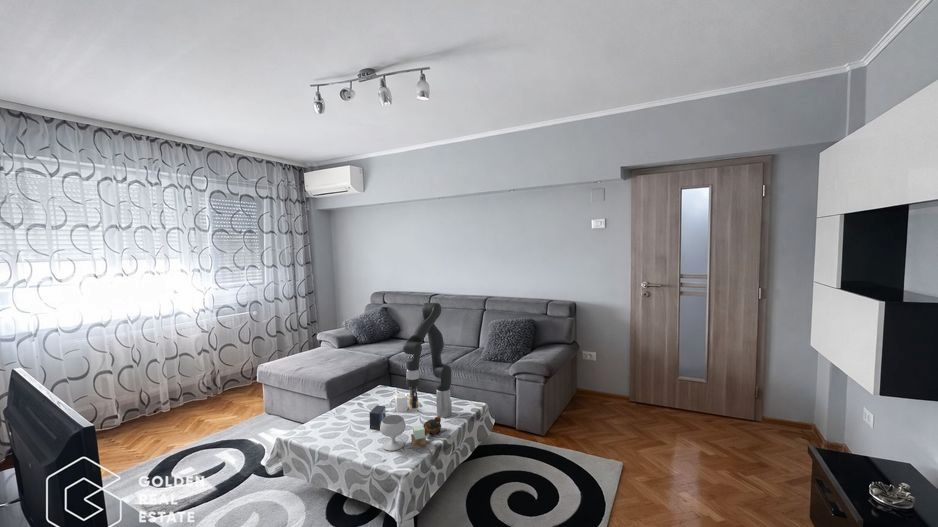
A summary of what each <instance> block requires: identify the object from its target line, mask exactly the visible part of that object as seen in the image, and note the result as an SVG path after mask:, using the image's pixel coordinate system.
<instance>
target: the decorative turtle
mask: <svg viewBox="0 0 938 527" xmlns="http://www.w3.org/2000/svg"><path fill="white" fill-rule="evenodd" d="M441 418H442V417H440V416H437V415H436V416H435V417H434V419H432V418H431V419H429V420H427V421H425V422H424V423H423V424H422V425H423V427H424V429H425V437H426V436H427V435H429V434H430V433H431V435H433V436H436V434H437V433H440V431H441V428H442V424H441V421H442V420H441Z"/></svg>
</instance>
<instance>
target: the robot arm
mask: <svg viewBox="0 0 938 527" xmlns="http://www.w3.org/2000/svg"><path fill="white" fill-rule="evenodd" d="M421 312H422V317H423V321H422V322H420V324H418V325H417V326H416V328H415V329H414V332H413V334H412V335H411V336H410V337H409V338H407V340H406V341H405V342H404V344H403V345H402V346H403V347H402V351H403V352H404V354H406V355H413V356H412V357H409V358H408V359H407V360H406V373H405V375H406V380H405V381H406V382H405V384H406V386H407V387H409V388H408V389H409V396H411V398H412V408H416V402H417V396H418V388H417V387H419V386H420V384H421V378H420V377H421V375H420V374H421V372H420V358H421V355H422V350H423V346H422V342H424V340H425V338H426V336H427V338H428V339H427V340H428V346H429V348H430V356H431V364H432V373H433V376H434V377H436V378H438V379H440V382H438V383H436V386H435V395H436V397H435V399H436V404H435V405H436V417H437V416H440V418H447V417H450V416H452V415H453V412H452V411H453V410H452V407H453V406H452V399H451V384H452V368H451V366H450V365H448V364H444V363H443V361H442V352H443V350H444V346H445V342H444V337H443V334H442V331H441V330H440V329H439V327H437V325H436V324H435V322H436V321H437V320H438V319H439V317H440V316H441V314H442V306H441V304H440V303H438V302H424V303H423V304H422V307H421ZM414 399H415V400H414Z"/></svg>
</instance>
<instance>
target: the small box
mask: <svg viewBox="0 0 938 527" xmlns="http://www.w3.org/2000/svg"><path fill="white" fill-rule="evenodd" d="M385 417H387V414H386V406H385V405H375V406H374V407H373V409H371V411H369V430H380V425H381V422H382V420H383V418H385Z"/></svg>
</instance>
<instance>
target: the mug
mask: <svg viewBox="0 0 938 527" xmlns="http://www.w3.org/2000/svg"><path fill="white" fill-rule="evenodd" d="M393 401H394V405H395V406H394V405H393ZM389 405H390V407H391V409H393V408H394V410H395V411H396V412H397V413H404V412H407V411H408V409H409V401H408V394H407V393H406V392H400V393H396V394H395V395H394V397H392V398H391V399H390V400H389Z"/></svg>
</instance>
